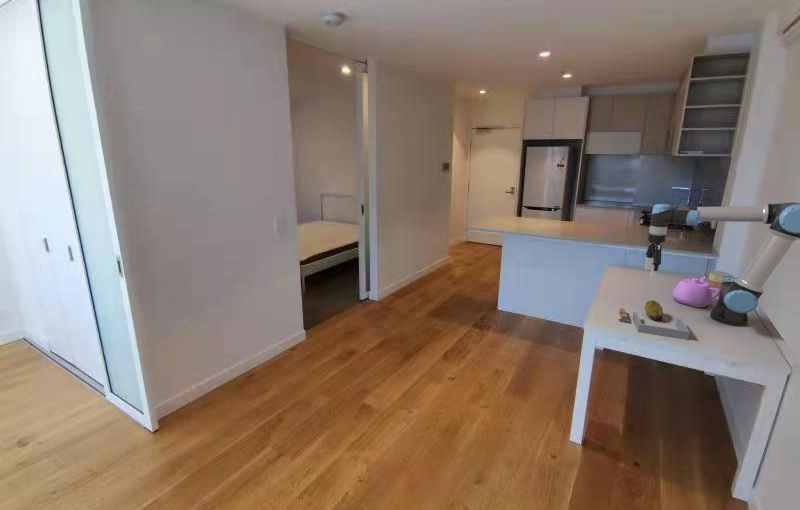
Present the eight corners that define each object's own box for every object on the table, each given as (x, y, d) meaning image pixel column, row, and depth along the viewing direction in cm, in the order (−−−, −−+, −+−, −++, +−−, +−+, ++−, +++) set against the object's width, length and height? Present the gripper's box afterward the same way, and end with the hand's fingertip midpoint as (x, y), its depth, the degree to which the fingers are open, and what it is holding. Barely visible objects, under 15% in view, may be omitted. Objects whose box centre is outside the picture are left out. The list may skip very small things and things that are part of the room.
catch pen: (678, 325, 190) (680, 318, 189) (688, 339, 176) (689, 332, 175) (632, 318, 198) (633, 311, 197) (637, 331, 183) (639, 324, 182)
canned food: (719, 288, 243) (724, 271, 240) (733, 295, 233) (737, 276, 229) (701, 287, 245) (705, 270, 241) (713, 294, 234) (718, 275, 231)
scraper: (616, 312, 207) (617, 307, 206) (626, 313, 205) (627, 309, 204) (619, 322, 194) (620, 317, 193) (630, 323, 192) (631, 319, 192)
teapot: (710, 313, 205) (717, 287, 201) (667, 301, 222) (672, 277, 218) (726, 304, 217) (732, 280, 213) (683, 293, 234) (689, 270, 230)
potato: (643, 319, 197) (645, 305, 195) (643, 311, 207) (646, 297, 205) (662, 323, 193) (665, 308, 191) (661, 314, 203) (664, 301, 201)
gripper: (643, 229, 208) (637, 265, 214) (654, 238, 186) (648, 278, 191) (659, 230, 206) (653, 267, 211) (672, 239, 183) (665, 280, 189)
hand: (650, 272), depth 201 cm, fingers open, 13 cm apart
